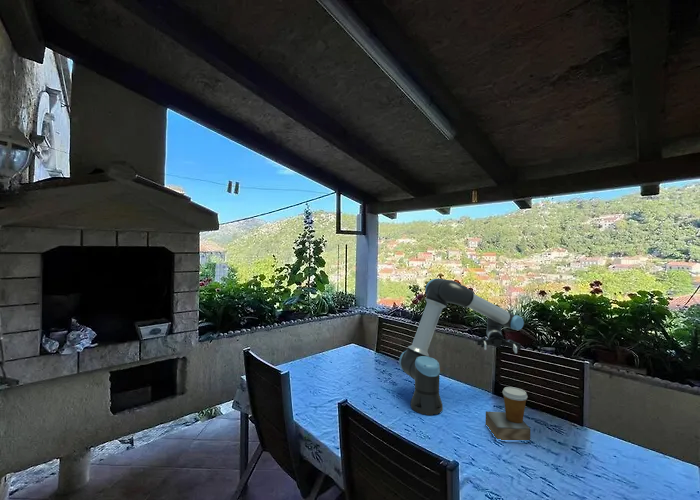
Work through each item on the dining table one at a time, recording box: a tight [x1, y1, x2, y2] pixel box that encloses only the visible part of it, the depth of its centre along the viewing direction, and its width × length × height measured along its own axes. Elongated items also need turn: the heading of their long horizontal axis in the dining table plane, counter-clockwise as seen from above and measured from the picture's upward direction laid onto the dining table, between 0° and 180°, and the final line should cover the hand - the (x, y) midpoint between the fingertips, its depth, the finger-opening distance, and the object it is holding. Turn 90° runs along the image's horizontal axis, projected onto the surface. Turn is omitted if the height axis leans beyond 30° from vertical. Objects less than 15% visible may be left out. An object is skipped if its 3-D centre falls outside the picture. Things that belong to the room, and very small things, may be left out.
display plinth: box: [485, 410, 531, 441], centre depth 138 cm, size 13×13×6 cm
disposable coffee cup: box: [502, 386, 528, 423], centre depth 138 cm, size 10×10×12 cm
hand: (500, 348), depth 159 cm, fingers open, 13 cm apart
